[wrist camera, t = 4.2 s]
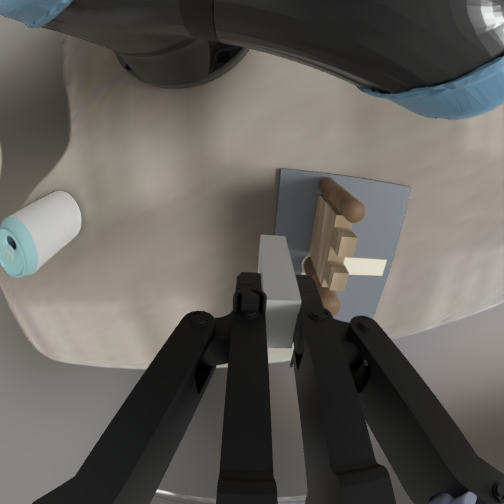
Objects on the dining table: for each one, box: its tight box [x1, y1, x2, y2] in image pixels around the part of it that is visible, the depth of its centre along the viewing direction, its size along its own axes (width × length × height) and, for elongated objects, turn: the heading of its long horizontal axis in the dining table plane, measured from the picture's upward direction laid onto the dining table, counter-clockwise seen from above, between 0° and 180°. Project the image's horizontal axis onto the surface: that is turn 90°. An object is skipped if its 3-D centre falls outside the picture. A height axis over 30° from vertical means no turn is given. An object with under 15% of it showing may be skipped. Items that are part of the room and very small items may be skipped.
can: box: [0, 191, 81, 278], centre depth 25 cm, size 7×7×12 cm
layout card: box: [274, 168, 411, 323], centre depth 33 cm, size 16×22×1 cm
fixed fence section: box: [303, 257, 341, 316], centre depth 31 cm, size 2×12×10 cm, turn 176°
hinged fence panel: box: [309, 177, 365, 291], centre depth 25 cm, size 2×9×9 cm, turn 176°
